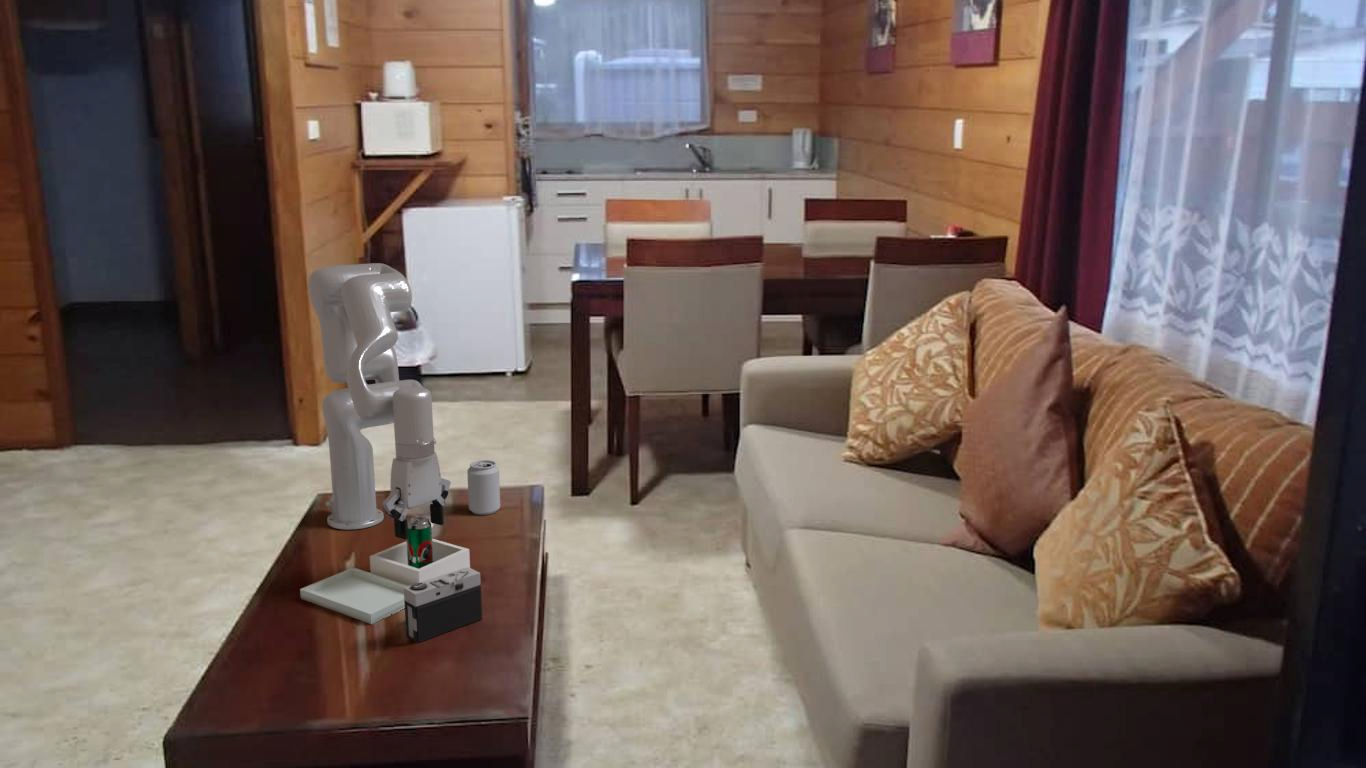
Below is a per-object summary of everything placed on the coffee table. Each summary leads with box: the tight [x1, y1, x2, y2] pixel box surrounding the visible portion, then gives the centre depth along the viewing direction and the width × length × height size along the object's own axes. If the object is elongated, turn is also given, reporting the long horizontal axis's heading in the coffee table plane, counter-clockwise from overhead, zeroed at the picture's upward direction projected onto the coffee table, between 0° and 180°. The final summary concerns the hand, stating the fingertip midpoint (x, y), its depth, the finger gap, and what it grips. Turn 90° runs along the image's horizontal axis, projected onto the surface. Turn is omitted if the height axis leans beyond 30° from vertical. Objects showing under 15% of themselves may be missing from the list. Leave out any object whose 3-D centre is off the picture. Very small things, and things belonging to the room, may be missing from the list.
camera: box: [404, 567, 483, 644], centre depth 197 cm, size 14×8×10 cm, turn 135°
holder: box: [369, 538, 471, 586], centre depth 220 cm, size 14×14×5 cm
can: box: [466, 459, 501, 516], centre depth 257 cm, size 8×8×12 cm
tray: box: [299, 567, 409, 625], centre depth 209 cm, size 20×13×2 cm, turn 57°
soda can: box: [405, 516, 433, 569], centre depth 219 cm, size 5×5×12 cm
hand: (419, 530), depth 217 cm, fingers open, 9 cm apart
